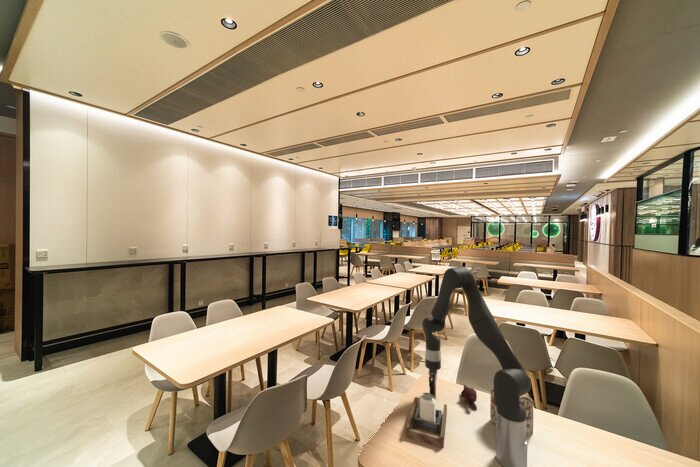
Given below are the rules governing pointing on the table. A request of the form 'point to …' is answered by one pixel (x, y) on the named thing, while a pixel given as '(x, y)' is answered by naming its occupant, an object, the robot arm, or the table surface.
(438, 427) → the pull frame
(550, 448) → the table surface
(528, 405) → the decorative jar
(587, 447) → the table surface
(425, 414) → the can
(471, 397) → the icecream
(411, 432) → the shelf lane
